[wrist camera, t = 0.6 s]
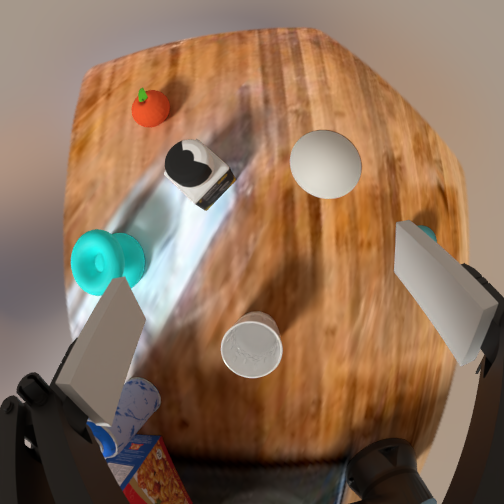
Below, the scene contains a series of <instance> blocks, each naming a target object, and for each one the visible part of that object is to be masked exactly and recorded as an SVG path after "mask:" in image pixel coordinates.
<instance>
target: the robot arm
mask: <svg viewBox="0 0 504 504" xmlns="http://www.w3.org/2000/svg"><path fill="white" fill-rule="evenodd" d="M394 272H395V274H396V275H397V276H398V277H399V279H400V280H401V281H402V283H403V284H404V285H405V287H406V288H407V289H408V290H409V292H410V293H411V294H412V296H413V297H414V299H415V300H416V301H417V303H418V304H419V305H420V307H421V308H422V310H423V311H424V312H425V314H426V315H427V317H428V318H429V319H430V321H431V322H432V324H433V325H434V327H435V328H436V330H437V331H438V332H439V334H440V335H441V337H442V338H443V340H444V341H445V343H446V344H447V346H448V348H449V349H450V351H451V352H452V354H453V355H454V357H455V359H456V360H457V362H458V363H459V365H460V366H463V365H465V364H467V363H469V362H471V361H473V360H475V359H476V357H477V355H478V353H479V350H480V349H481V350H482V351H483V353H484V354H485V355H484V357H483V359H482V361H481V363H480V365H479V367H478V368H477V371H476V374H478V372H479V371H480V369H481V372H480V378H479V384H478V390H477V395H476V401H475V405H474V410H473V414H472V418H471V423H470V426H469V430H468V434H467V437H466V441H465V444H464V447H463V450H462V454H461V457H460V460H459V462H458V465H457V468H456V471H455V474H454V476H453V479H452V481H451V484H450V486H449V489H448V491H447V493H446V496H445V498H444V500H443V502H442V504H504V298H503V296H502V295H501V294H500V293H499V292H498V291H497V290H496V289H495V288H494V287H493V286H492V285H491V284H490V283H488V281H487V280H486V279H485V278H484V277H482V275H481V274H480V273H479V272H478V271H476V270H475V269H474V268H472V267H471V266H469V265H467V264H465V263H464V264H459V263H458V262H457V261H456V260H455V259H454V258H453V257H452V256H451V255H450V254H449V253H448V252H446V251H445V250H444V249H443V248H442V247H441V246H440V245H439V244H437V243H436V242H435V241H434V240H433V239H432V238H431V237H429V236H428V235H427V234H426V233H425V232H424V231H422V230H421V229H420V228H419V227H418V226H416V225H415V224H414V223H413V222H411V221H410V220H406V221H401V222H396V246H395V265H394ZM145 321H146V318H145V316H144V314H143V312H142V310H141V308H140V306H139V304H138V302H137V300H136V298H135V296H134V294H133V292H132V290H131V288H130V286H129V284H128V282H127V280H126V278H125V276H124V277H119V278H114V279H112V280H111V282H110V284H109V285H108V287H107V288H106V290H105V292H104V293H103V295H102V297H101V298H100V300H99V302H98V303H97V305H96V307H95V308H94V310H93V312H92V314H91V315H90V317H89V319H88V321H87V322H86V324H85V326H84V328H83V330H82V331H81V333H80V335H79V337H78V338H76V339H75V341H74V342H73V343H72V344H71V345H70V346H69V348H68V350H67V352H66V354H65V356H64V358H63V360H62V363H61V364H60V365H59V367H58V369H57V372H56V374H55V375H54V377H53V380H52V382H51V384H50V386H48V385H47V383H46V382H45V381H44V380H43V379H42V378H41V376H40V375H39V374H37V373H35V372H34V373H30V374H27V375H26V376H25V377H23V378H22V380H21V381H20V382H19V384H18V386H17V394H18V395H19V396H20V397H21V398H22V399H23V400H24V401H25V403H22V402H21V401H20V400H19V399H18V398H17V397H15V396H14V395H13V396H9V397H8V398H6V399H5V400H4V401H3V403H2V405H1V407H0V504H130V502H129V501H128V499H127V498H126V496H125V494H124V493H123V491H122V489H121V488H120V486H119V484H118V482H117V481H116V479H115V477H114V475H113V473H112V471H111V470H110V468H109V466H108V464H107V462H106V460H105V458H104V456H103V454H102V452H101V450H100V448H99V446H98V443H97V441H96V439H95V437H94V435H93V432H92V430H91V428H90V427H89V425H87V424H86V423H87V420H88V418H89V419H90V420H92V421H93V422H94V423H95V424H96V425H99V426H108V427H112V423H113V419H114V416H115V412H116V409H117V406H118V402H119V399H120V395H121V392H122V389H123V386H124V383H125V379H126V376H127V373H128V370H129V367H130V364H131V361H132V358H133V355H134V352H135V349H136V346H137V343H138V341H139V338H140V335H141V332H142V329H143V327H144V324H145ZM24 439H26V440H28V441H29V442H30V443H31V448H29V447H27V446H26V445H25V442H24V441H25V440H24ZM345 475H346V479H347V483H348V485H349V487H350V488H351V489H352V490H353V491H354V492H355V493H356V494H357V495H358V496H359V497H360V498H361V499H362V500H361V501H358V502H354V503H350V504H437V501H436V500H435V499H434V498H433V496H432V494H431V493H430V491H429V490H428V488H427V486H426V485H425V483H424V482H423V480H422V478H421V477H420V475H419V474H418V472H417V462H416V454H415V451H414V449H413V447H412V446H411V445H410V443H409V442H407V441H406V440H403V439H399V438H391V439H385V440H381V441H378V442H376V443H374V444H371V445H369V446H368V447H366V448H364V449H363V450H362V451H360V452H359V453H358V454H357V455H356V456H354V458H353V459H352V460H351V461H350V463H349V464H348V466H347V469H346V474H345Z"/></svg>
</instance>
